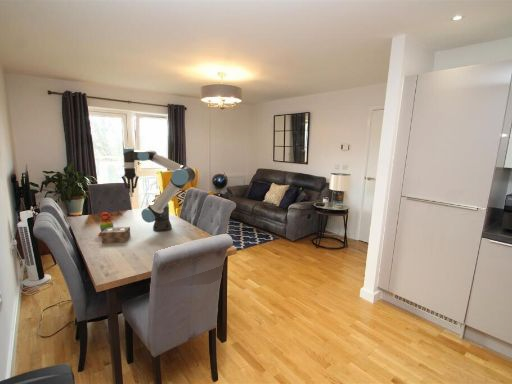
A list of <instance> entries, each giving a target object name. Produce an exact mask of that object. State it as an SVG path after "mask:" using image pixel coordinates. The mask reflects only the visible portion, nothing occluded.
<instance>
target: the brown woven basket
mask: <svg viewBox="0 0 512 384" xmlns="http://www.w3.org/2000/svg"><path fill="white" fill-rule="evenodd" d="M108 229H113V230H112V231H107V230H108ZM120 229H125V230H120ZM100 232H101V231H100ZM101 235H102V236H101V244H110V243H111V244H114V243H116V244H117V243H126V242H127V241H128V240H129V239H130V238H131V226H117V227H116V226H115V227H114V226H113V227H109V228H106V229H105V230H104V231H103V232H101Z"/></svg>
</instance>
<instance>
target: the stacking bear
mask: <svg viewBox="0 0 512 384" xmlns="http://www.w3.org/2000/svg"><path fill="white" fill-rule="evenodd" d="M100 218H101V220H100V223H99V229H100V232H99V233H98V237H102V235H101V232H103V231H104V230H105V229H106V228H109V227H114V223H113V220H112V219H111V212H109V211H107V212H106V211H105V212H101V213H100Z"/></svg>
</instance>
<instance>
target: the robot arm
mask: <svg viewBox="0 0 512 384" xmlns="http://www.w3.org/2000/svg"><path fill="white" fill-rule="evenodd" d="M135 161H138V162H139V161H141V162H145V161H151V162H153V163H155V164H157V165H159V166H161V167H163V168H165V169H168V170H169V171H171V175H170V176H171V178H170V179H169V181H170V182H169V183H168V184H167V185H166V187H165V188H164V189H163V191H162V192H161V193H160V194H159V196H157V198H156V199H155V200H154V201H153V202H150V203H149V205H148V206H147V207H146V208H144V209H142V211H141V214H140V215H141V218H142V220H143V221H144V222H146V223H153V226H152V230H153V231H155V232H166V231H169V230H171V229H172V228H173V227H172V223H171V221H170V206H169V205H170V204H169V203H170V201H171V200H173V198H174V197H175V195H176V194H177V193H178V191H179V190H183V189H184V187H186V185H187V184H189V183H192V182H194V180H195V179H196V171H195V170H194V169H193V168H191V167H189V166H188V165H182V164H180V163H177V162H176V161H173V160H172V159H170V158H167V157H165V156H164V155H161V154H158V153H157V151H155V150H135V149H134V148H133V147H124V148H123V166H124V175H122V176H121V179H122V180H123V184H124V187H125V189H128V193H129V197H130V198H133V197H134V193H135V189H136V188H137V185H138V180H139V178H140V176H139V175H137V173H136V164H135V163H136V162H135ZM134 179H135V180H134Z"/></svg>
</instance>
